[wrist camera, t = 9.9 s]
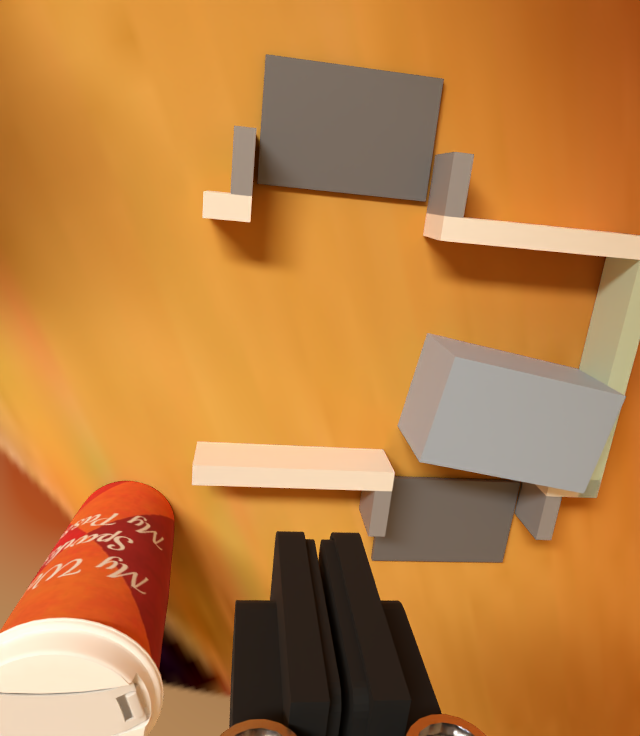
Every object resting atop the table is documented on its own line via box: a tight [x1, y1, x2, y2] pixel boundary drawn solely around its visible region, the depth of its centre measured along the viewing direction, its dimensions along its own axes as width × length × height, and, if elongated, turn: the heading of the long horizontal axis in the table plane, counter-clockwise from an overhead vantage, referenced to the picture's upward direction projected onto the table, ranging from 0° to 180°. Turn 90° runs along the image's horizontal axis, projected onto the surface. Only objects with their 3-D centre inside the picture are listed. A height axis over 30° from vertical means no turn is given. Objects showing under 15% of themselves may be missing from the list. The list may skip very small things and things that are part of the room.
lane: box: [192, 54, 640, 562], centre depth 32 cm, size 29×24×3 cm
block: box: [398, 333, 626, 494], centre depth 33 cm, size 6×10×5 cm, turn 75°
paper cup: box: [0, 481, 174, 736], centre depth 28 cm, size 8×8×14 cm
